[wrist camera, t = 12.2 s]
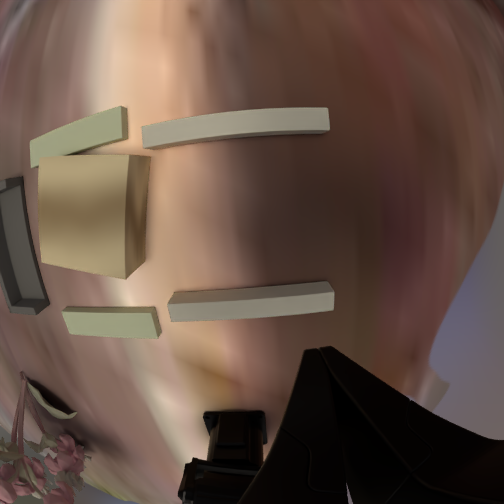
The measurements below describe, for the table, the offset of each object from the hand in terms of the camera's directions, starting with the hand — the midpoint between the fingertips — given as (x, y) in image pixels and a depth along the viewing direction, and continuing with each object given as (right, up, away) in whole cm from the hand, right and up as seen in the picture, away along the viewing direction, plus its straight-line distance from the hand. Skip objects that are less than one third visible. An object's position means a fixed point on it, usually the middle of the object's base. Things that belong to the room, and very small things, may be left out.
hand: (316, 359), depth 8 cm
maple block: (-14, +7, +12) cm, 19 cm away
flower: (-31, -24, +21) cm, 45 cm away
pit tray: (-25, +4, +12) cm, 29 cm away
